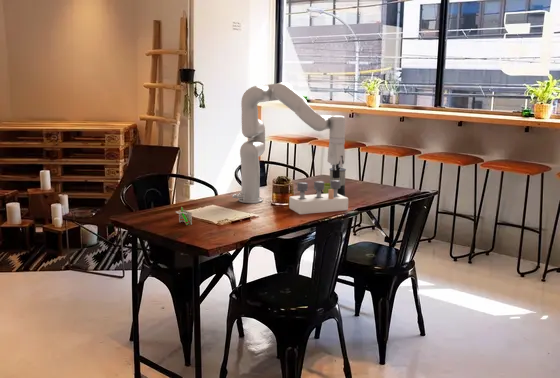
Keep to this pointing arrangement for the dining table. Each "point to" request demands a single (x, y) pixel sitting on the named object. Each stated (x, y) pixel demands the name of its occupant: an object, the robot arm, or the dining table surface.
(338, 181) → the knob far
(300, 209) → the white rectangular block
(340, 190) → the milk frother
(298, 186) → the knob near
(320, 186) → the knob mid
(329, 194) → the dial post
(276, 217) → the dining table surface
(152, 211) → the dining table surface
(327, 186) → the plant pot
